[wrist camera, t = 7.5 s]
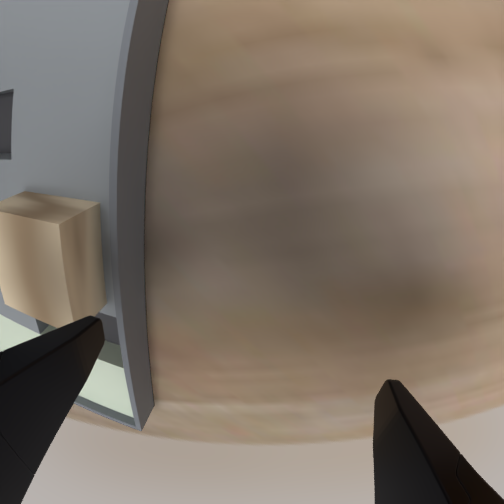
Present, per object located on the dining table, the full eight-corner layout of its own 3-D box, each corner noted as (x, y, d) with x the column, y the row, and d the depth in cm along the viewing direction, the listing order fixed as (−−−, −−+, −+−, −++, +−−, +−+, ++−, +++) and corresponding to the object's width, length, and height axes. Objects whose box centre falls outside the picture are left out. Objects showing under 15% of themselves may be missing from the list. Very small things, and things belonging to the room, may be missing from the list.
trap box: (11, 342, 23) (-5, 358, 21) (-14, 19, 11) (-40, 18, 9) (154, 405, 22) (141, 431, 19) (177, -38, 10) (154, -60, 7)
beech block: (36, 279, 16) (5, 304, 13) (24, 191, 14) (-15, 208, 11) (107, 303, 16) (76, 335, 13) (100, 202, 13) (58, 224, 11)
